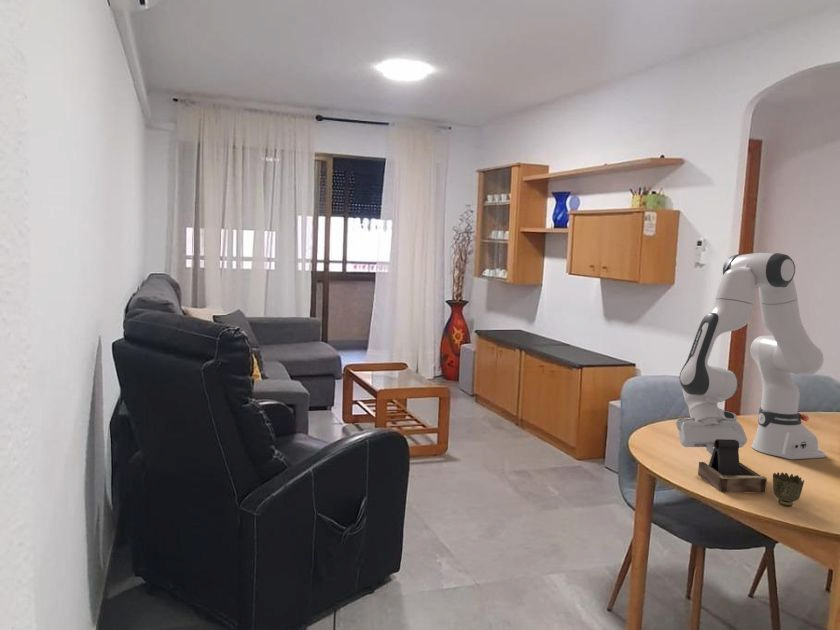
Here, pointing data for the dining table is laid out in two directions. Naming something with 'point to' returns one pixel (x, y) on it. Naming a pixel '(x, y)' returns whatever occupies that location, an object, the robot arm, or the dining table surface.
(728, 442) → the phone stand
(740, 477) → the frame
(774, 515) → the dining table surface
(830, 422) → the dining table surface
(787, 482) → the cup
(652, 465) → the dining table surface
